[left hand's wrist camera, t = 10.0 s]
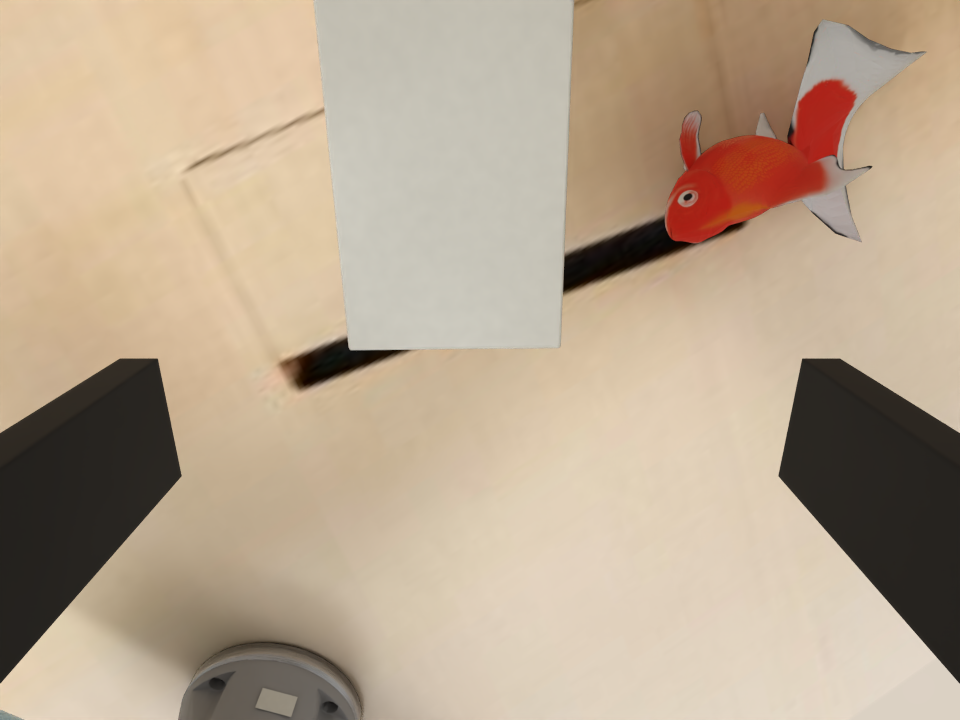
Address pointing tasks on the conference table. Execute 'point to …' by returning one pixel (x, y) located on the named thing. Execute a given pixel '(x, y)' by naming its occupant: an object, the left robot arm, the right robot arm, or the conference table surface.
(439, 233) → the bar
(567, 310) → the conference table surface
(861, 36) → the fish
